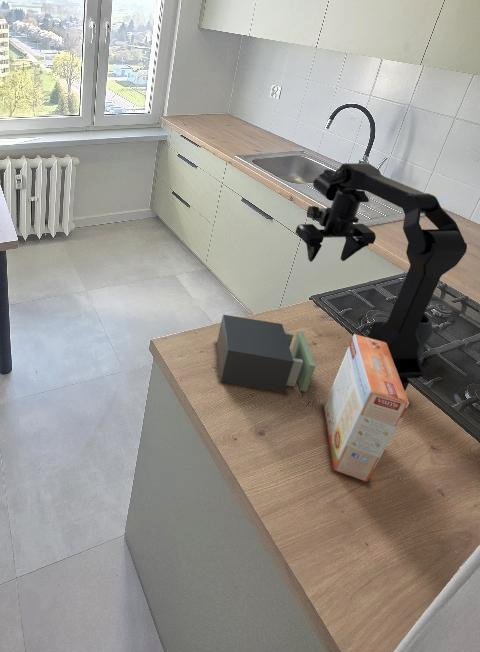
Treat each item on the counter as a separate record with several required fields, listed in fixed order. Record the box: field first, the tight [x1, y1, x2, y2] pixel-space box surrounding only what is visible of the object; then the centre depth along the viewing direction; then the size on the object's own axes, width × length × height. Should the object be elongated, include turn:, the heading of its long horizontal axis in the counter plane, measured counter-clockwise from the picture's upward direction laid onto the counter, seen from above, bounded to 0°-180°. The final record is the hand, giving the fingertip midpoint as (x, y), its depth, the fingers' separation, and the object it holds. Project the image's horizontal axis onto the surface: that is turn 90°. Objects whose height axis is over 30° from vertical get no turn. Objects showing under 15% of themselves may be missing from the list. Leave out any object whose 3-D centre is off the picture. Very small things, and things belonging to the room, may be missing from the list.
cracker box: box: [323, 333, 410, 483], centre depth 77 cm, size 14×6×21 cm, turn 160°
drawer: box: [284, 330, 317, 392], centre depth 94 cm, size 14×10×8 cm
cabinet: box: [216, 314, 294, 394], centre depth 95 cm, size 13×11×9 cm
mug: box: [416, 312, 434, 365], centre depth 102 cm, size 12×9×11 cm
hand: (326, 260), depth 111 cm, fingers open, 9 cm apart
